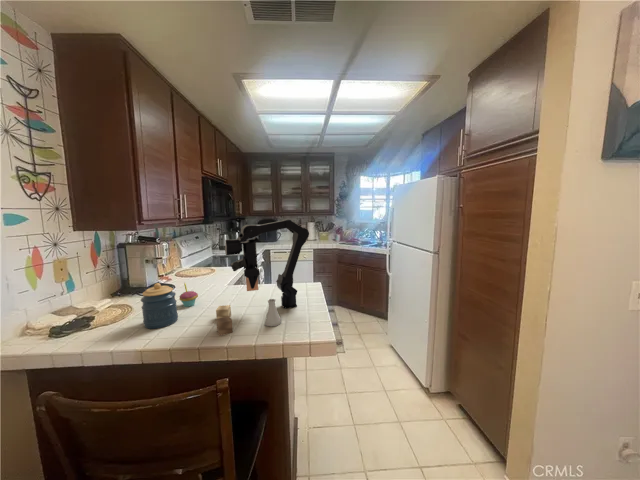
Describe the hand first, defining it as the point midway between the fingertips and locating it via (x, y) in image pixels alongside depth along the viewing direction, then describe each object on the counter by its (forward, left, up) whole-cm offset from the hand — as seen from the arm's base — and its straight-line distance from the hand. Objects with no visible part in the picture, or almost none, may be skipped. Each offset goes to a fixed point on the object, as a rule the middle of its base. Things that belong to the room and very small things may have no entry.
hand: (252, 286), depth 121 cm
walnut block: (+12, +15, -13) cm, 23 cm away
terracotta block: (0, 0, -1) cm, 1 cm away
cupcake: (+31, -23, -13) cm, 41 cm away
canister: (+39, -4, -13) cm, 41 cm away
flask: (-7, +14, -13) cm, 20 cm away
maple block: (+13, +1, -13) cm, 18 cm away
